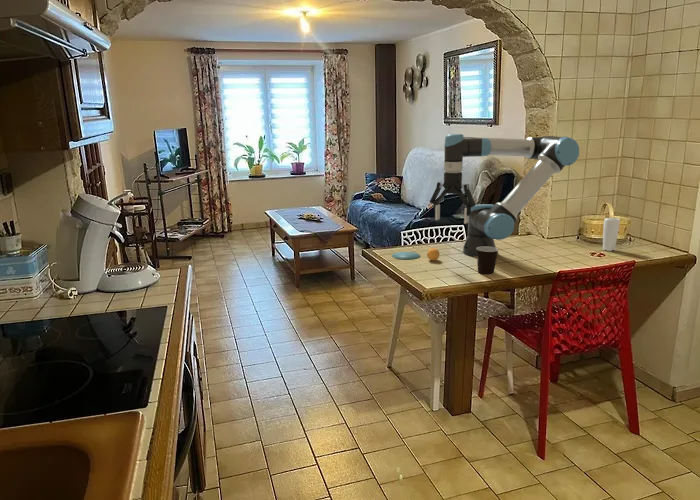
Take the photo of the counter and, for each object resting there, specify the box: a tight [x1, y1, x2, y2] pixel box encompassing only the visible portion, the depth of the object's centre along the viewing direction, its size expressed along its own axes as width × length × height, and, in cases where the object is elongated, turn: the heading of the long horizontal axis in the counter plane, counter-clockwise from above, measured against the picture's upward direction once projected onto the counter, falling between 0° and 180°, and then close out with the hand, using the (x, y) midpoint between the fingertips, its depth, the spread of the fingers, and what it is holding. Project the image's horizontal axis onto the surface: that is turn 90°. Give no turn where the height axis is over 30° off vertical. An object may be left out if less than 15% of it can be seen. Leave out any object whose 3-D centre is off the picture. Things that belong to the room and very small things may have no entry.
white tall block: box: [602, 217, 621, 252], centre depth 246 cm, size 7×7×15 cm
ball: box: [426, 247, 440, 262], centre depth 236 cm, size 6×6×6 cm
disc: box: [391, 251, 421, 261], centre depth 244 cm, size 13×13×1 cm
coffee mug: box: [476, 246, 499, 276], centre depth 218 cm, size 12×9×10 cm
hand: (451, 221), depth 226 cm, fingers open, 13 cm apart
